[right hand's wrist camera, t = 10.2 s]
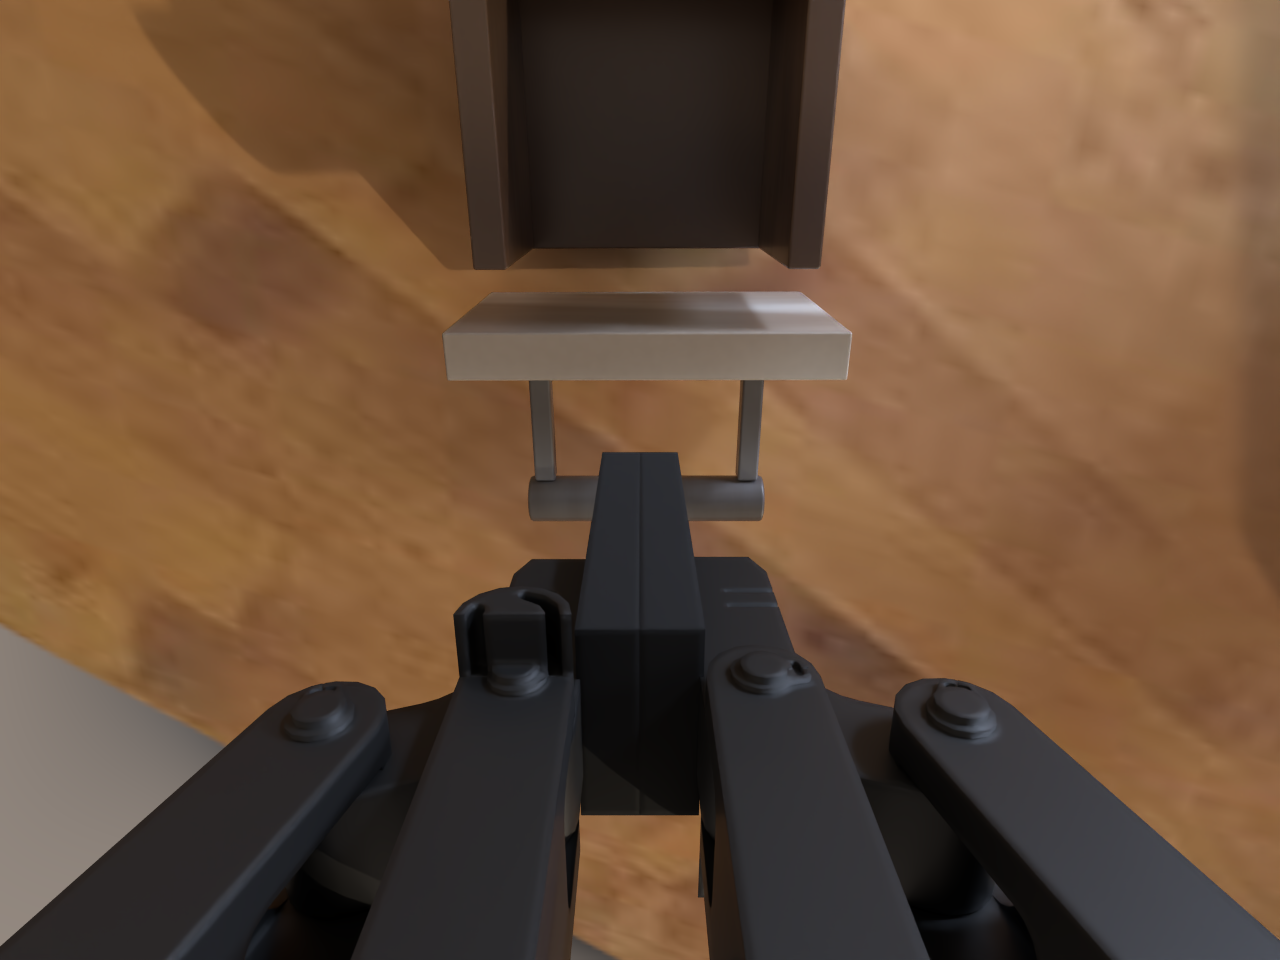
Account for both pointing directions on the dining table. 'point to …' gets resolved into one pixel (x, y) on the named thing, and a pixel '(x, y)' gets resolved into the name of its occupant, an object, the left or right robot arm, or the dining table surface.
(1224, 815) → the dining table surface
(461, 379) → the drawer
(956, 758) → the right robot arm
